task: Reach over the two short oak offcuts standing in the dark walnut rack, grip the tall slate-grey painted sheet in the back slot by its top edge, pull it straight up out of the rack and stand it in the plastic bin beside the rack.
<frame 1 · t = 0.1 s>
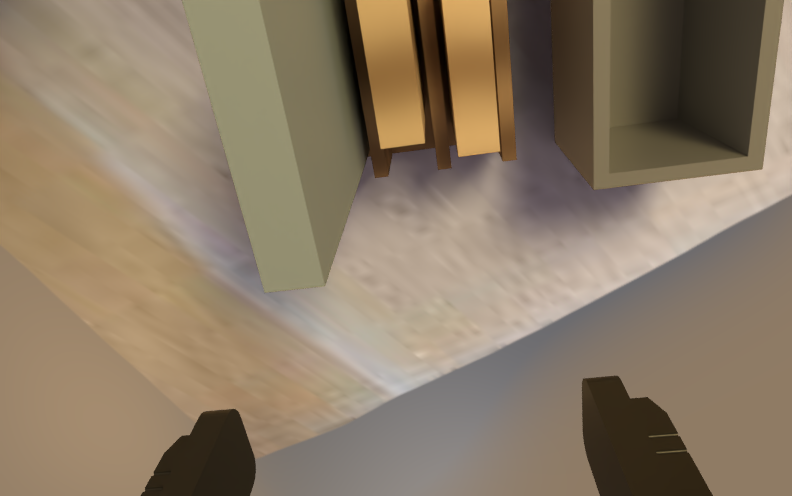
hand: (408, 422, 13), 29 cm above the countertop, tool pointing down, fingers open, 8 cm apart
rack: (400, 38, 37), on the countertop
bin: (620, 4, 35), on the countertop
beech offcut: (461, 49, 35), point 2 cm above the countertop, touching rack
oak offcut: (396, 24, 35), point 2 cm above the countertop, touching rack
tall sheet: (339, 50, 36), point 2 cm above the countertop, touching rack
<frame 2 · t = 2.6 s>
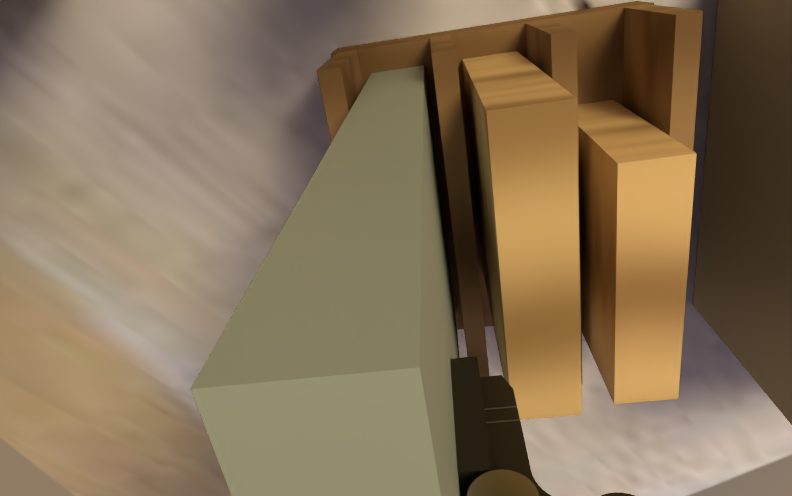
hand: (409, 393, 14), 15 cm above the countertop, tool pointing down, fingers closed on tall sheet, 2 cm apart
rack: (495, 179, 27), on the countertop
beech offcut: (586, 203, 25), point 2 cm above the countertop, touching rack
oak offcut: (498, 172, 25), point 2 cm above the countertop, touching rack
tall sheet: (417, 203, 26), point 2 cm above the countertop, touching gripper, rack
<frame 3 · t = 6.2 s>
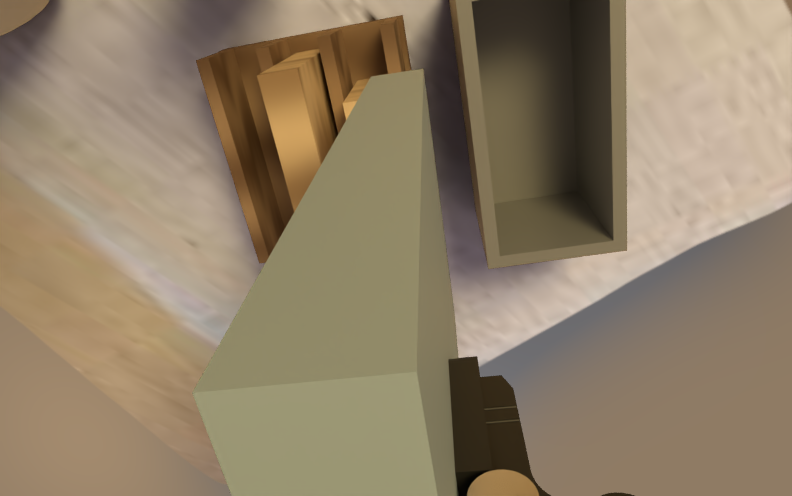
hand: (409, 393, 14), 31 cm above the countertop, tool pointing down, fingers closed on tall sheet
rack: (335, 129, 43), on the countertop
bin: (521, 97, 41), on the countertop
beech offcut: (385, 140, 41), point 2 cm above the countertop, touching rack
soap bottle: (4, 6, 40), on the countertop
oak offcut: (328, 122, 41), point 2 cm above the countertop, touching rack
tall sheet: (416, 206, 26), point 18 cm above the countertop, touching gripper
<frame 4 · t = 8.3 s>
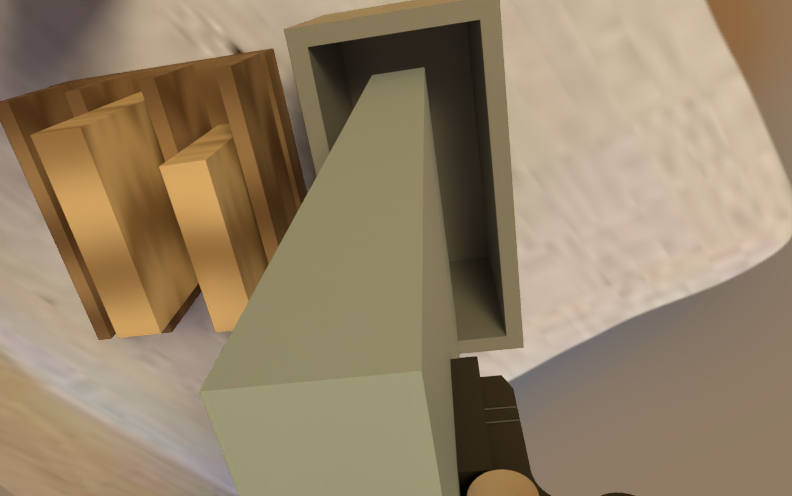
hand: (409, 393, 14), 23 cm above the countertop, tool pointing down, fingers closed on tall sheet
rack: (203, 177, 36), on the countertop
bin: (419, 147, 35), on the countertop
beech offcut: (255, 195, 34), point 2 cm above the countertop, touching rack
oak offcut: (186, 172, 34), point 2 cm above the countertop, touching rack
tall sheet: (417, 204, 26), point 10 cm above the countertop, touching gripper
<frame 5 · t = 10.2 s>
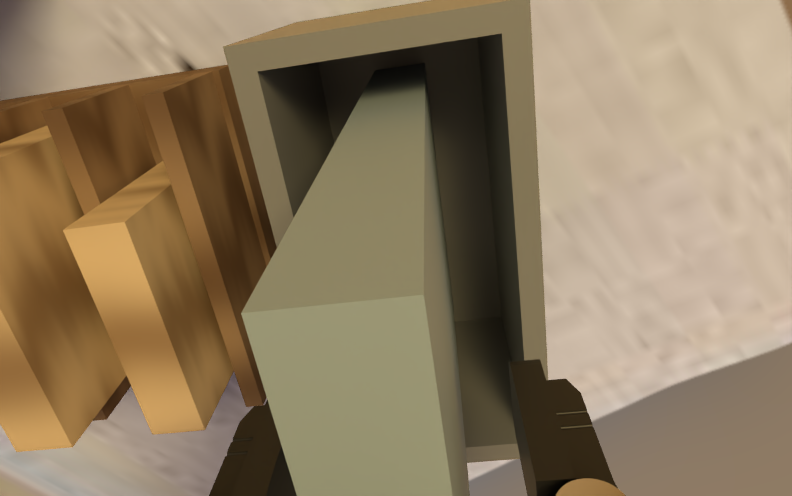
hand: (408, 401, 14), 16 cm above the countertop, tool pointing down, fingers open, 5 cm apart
rack: (152, 220, 30), on the countertop
bin: (417, 186, 28), on the countertop
beech offcut: (214, 245, 28), point 2 cm above the countertop, touching rack
oak offcut: (127, 217, 27), point 2 cm above the countertop, touching rack
tall sheet: (417, 194, 27), point 1 cm above the countertop, touching bin
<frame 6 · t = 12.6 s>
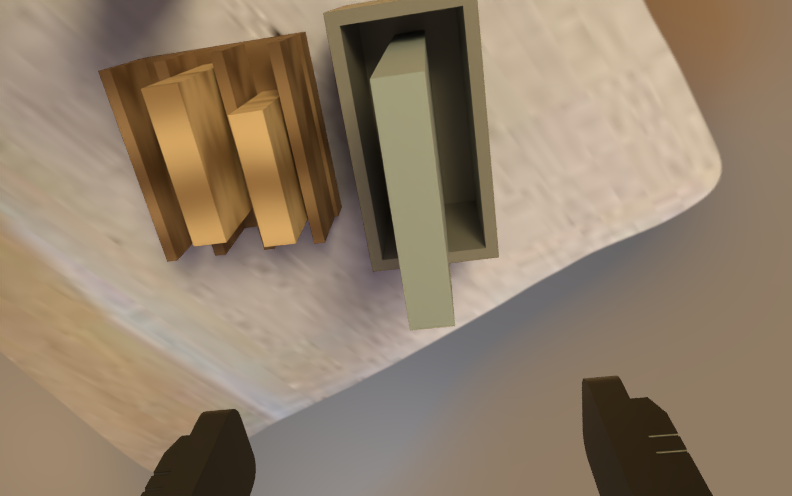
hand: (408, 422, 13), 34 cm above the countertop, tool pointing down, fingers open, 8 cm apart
rack: (247, 136, 45), on the countertop
bin: (420, 111, 44), on the countertop
beech offcut: (290, 148, 43), point 2 cm above the countertop, touching rack
oak offcut: (236, 130, 43), point 2 cm above the countertop, touching rack
tall sheet: (420, 115, 43), point 1 cm above the countertop, touching bin
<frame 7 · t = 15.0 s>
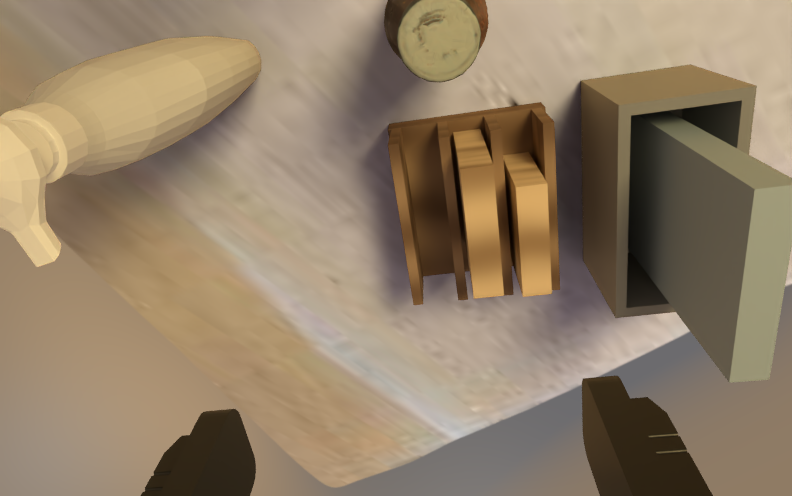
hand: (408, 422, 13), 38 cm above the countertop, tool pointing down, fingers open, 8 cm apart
sauce bottle: (433, 8, 44), on the countertop
rack: (471, 190, 51), on the countertop
bin: (632, 170, 49), on the countertop
beech offcut: (518, 203, 49), point 2 cm above the countertop, touching rack
soap bottle: (204, 84, 48), on the countertop
oak offcut: (472, 187, 48), point 2 cm above the countertop, touching rack
tall sheet: (636, 175, 48), point 1 cm above the countertop, touching bin
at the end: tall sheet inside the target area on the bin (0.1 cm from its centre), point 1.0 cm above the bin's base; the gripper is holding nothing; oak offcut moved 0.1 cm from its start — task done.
